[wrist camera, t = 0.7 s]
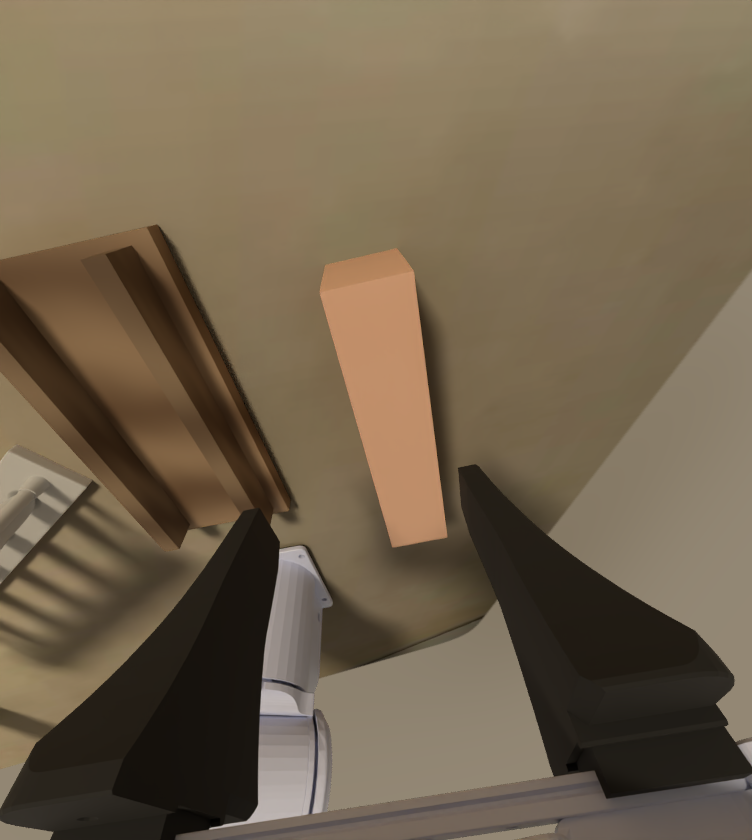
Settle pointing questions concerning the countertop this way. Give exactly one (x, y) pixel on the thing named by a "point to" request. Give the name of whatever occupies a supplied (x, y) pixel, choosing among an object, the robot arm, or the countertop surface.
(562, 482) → the countertop surface
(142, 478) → the strip rack
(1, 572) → the test tube rack
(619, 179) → the countertop surface
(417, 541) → the peach rectangular block
